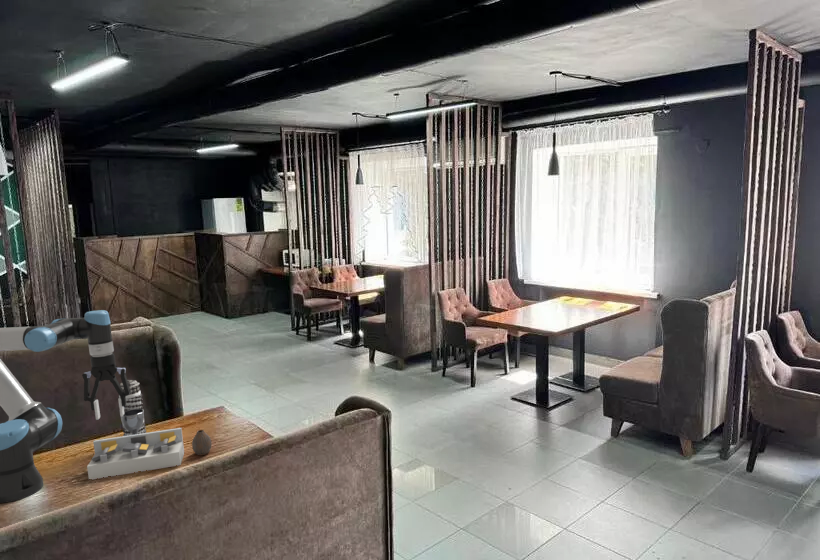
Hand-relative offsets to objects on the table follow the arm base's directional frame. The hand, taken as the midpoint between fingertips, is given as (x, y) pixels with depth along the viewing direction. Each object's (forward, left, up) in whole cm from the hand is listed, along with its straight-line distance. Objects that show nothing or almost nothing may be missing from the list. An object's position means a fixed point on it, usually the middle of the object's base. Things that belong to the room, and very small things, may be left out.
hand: (110, 416), depth 200 cm
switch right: (+17, 0, -13) cm, 21 cm away
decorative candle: (+1, +27, -20) cm, 34 cm away
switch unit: (+7, 0, -20) cm, 21 cm away
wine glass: (+3, +18, -20) cm, 27 cm away
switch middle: (+7, 0, -13) cm, 15 cm away
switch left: (-3, 0, -13) cm, 13 cm away
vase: (+29, +3, -20) cm, 36 cm away
